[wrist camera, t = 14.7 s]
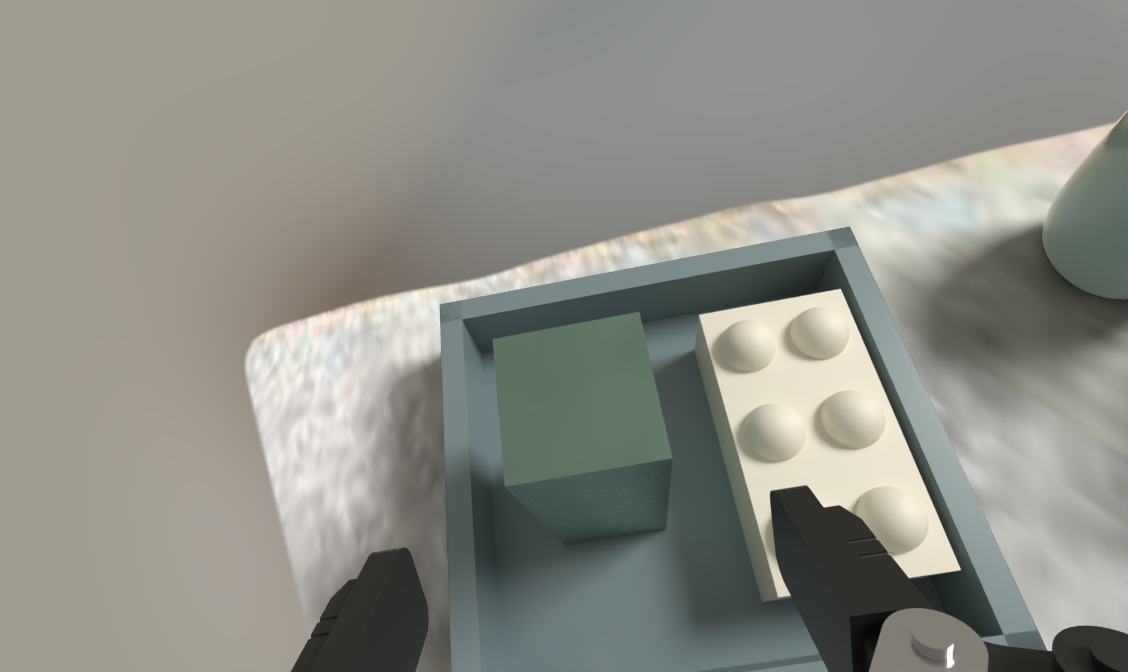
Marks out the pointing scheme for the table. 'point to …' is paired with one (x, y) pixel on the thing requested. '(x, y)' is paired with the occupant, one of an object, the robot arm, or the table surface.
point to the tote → (675, 487)
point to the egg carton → (812, 429)
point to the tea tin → (584, 429)
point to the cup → (1094, 219)
